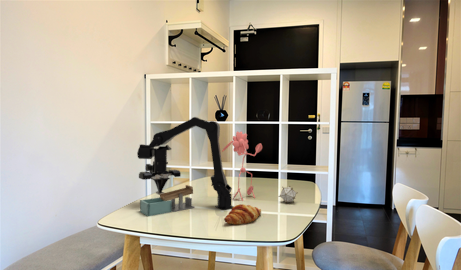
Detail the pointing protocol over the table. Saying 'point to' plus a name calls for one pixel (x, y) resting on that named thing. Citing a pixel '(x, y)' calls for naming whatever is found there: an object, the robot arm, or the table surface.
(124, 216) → the table surface
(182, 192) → the lever
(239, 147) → the figurine
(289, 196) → the grey spiked polyhedron
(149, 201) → the bin
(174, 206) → the stand
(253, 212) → the croissant
